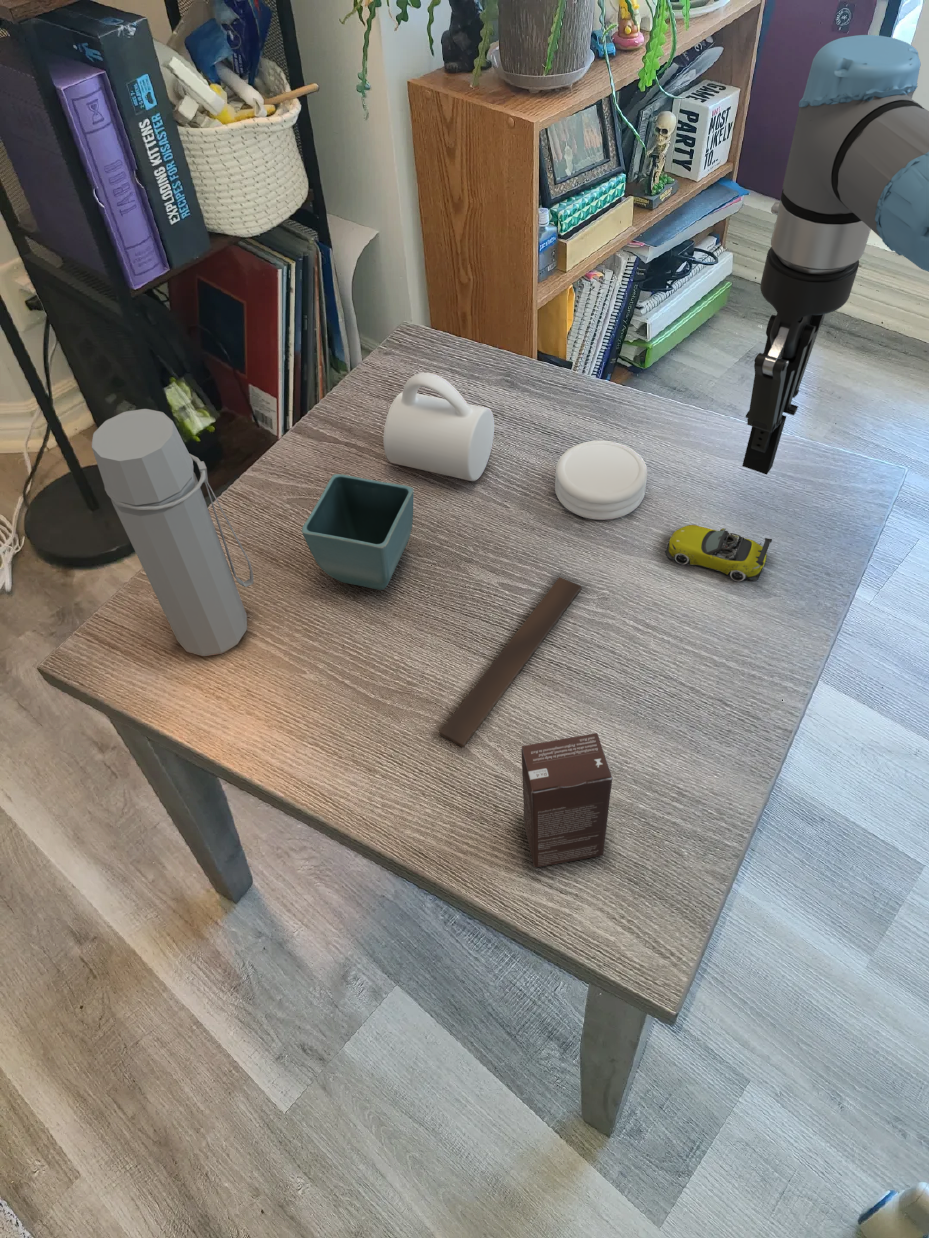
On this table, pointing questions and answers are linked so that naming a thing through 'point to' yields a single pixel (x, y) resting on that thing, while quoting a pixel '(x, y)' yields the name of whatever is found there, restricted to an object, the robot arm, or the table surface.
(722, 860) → the table surface
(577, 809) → the box
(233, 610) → the water bottle
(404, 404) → the mug
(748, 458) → the robot arm
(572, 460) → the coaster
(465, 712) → the ruler
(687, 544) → the sports car
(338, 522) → the flower pot
